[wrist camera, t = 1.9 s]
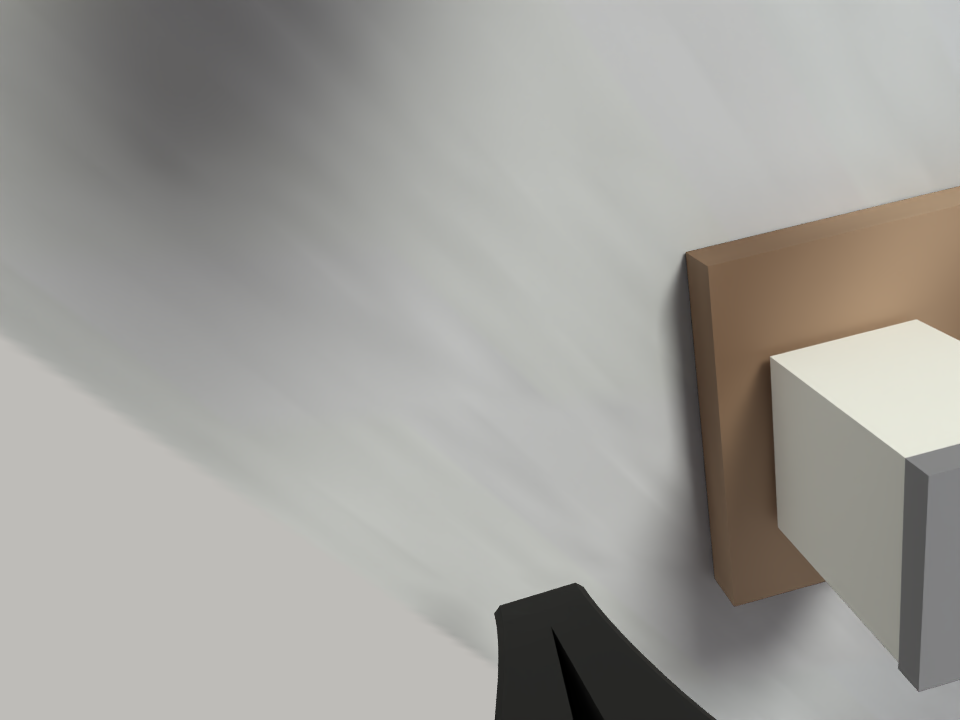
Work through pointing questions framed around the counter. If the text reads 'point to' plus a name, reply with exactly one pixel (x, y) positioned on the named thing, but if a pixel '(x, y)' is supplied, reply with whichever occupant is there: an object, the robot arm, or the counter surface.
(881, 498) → the block
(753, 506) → the frame
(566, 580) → the counter surface
